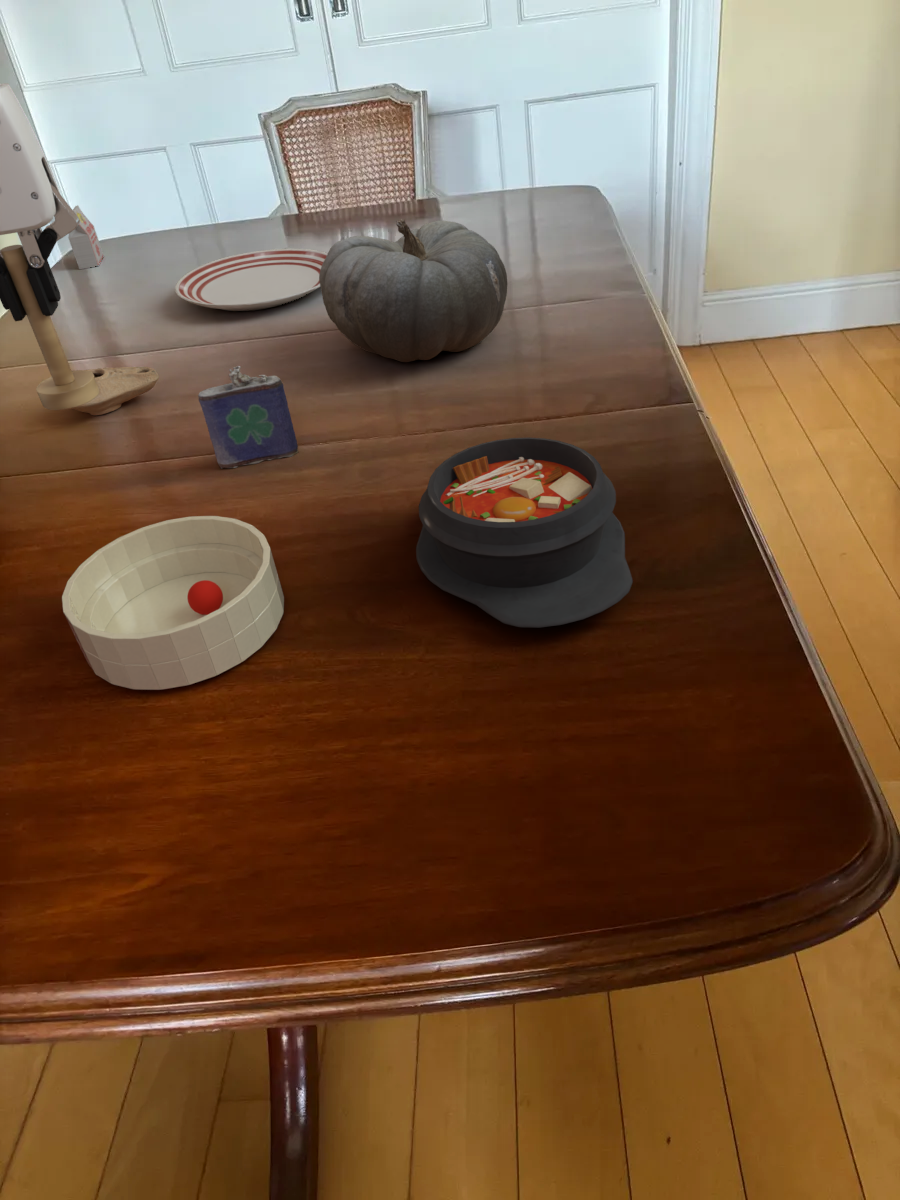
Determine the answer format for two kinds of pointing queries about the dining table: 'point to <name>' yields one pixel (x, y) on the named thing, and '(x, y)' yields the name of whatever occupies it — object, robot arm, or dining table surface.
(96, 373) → the pottery oil lamp
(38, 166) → the robot arm
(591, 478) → the casserole
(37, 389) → the wooden potato masher
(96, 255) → the white milk carton
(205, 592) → the red ball
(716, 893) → the dining table surface
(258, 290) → the dinner plate
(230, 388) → the flask
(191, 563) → the bowl
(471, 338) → the gourd
